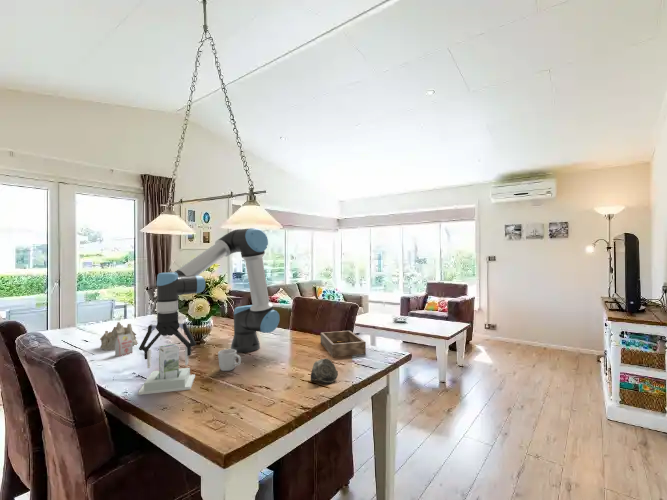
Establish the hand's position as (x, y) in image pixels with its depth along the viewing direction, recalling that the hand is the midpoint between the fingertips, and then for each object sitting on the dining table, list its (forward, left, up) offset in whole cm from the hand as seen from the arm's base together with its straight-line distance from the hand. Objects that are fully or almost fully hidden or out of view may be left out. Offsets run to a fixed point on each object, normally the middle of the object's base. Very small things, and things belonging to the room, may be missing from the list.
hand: (168, 365), depth 137 cm
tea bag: (+31, -53, -8) cm, 62 cm away
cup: (-23, -12, -8) cm, 27 cm away
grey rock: (+39, -71, -8) cm, 82 cm away
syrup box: (0, 0, -7) cm, 7 cm away
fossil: (-60, +12, -8) cm, 62 cm away
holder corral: (-80, -30, -8) cm, 86 cm away
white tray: (0, 0, -8) cm, 8 cm away
